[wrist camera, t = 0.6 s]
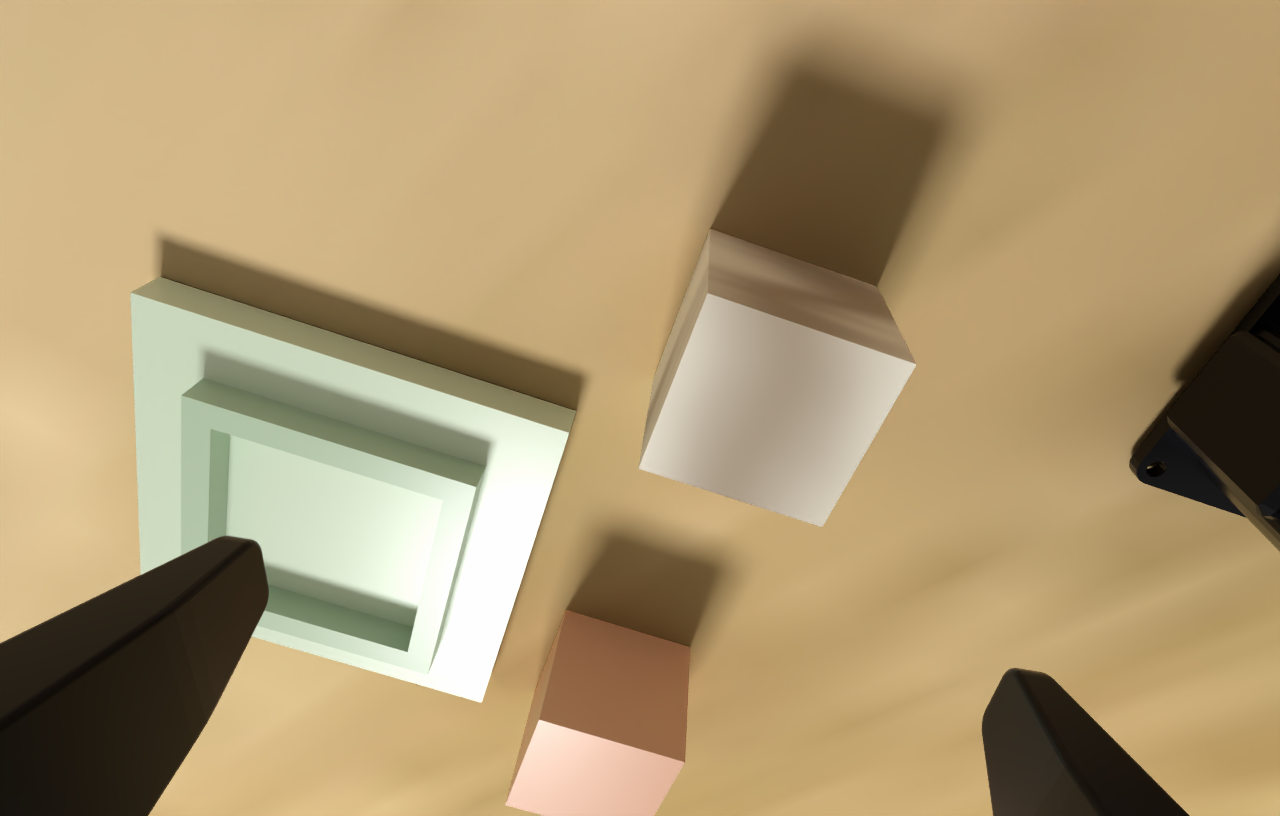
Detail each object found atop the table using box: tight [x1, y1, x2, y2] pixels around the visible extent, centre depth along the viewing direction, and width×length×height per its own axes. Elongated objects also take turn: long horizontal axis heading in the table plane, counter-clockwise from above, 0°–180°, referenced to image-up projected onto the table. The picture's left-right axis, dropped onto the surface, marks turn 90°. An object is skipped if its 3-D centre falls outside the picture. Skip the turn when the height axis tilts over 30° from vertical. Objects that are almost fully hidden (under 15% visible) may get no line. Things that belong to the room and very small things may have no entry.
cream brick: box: [638, 229, 917, 527], centre depth 18 cm, size 4×4×4 cm
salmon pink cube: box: [505, 610, 690, 816], centre depth 25 cm, size 4×4×4 cm
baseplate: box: [131, 277, 576, 703], centre depth 23 cm, size 12×12×2 cm
